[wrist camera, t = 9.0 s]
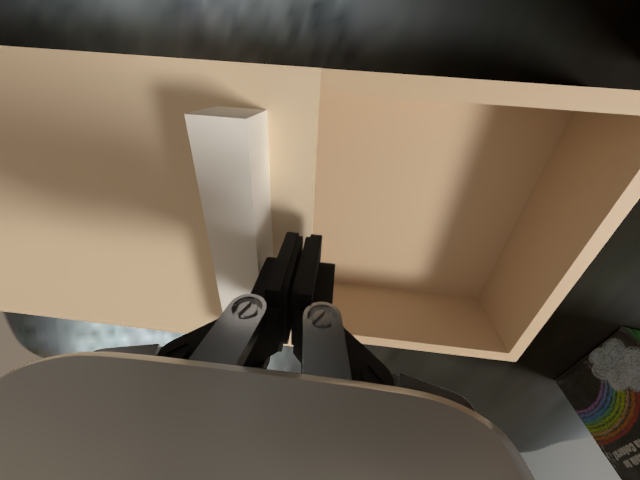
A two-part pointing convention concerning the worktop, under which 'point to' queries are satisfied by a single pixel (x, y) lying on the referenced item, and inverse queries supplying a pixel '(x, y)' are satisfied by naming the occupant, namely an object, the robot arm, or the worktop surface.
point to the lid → (148, 182)
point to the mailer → (466, 203)
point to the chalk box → (610, 398)
